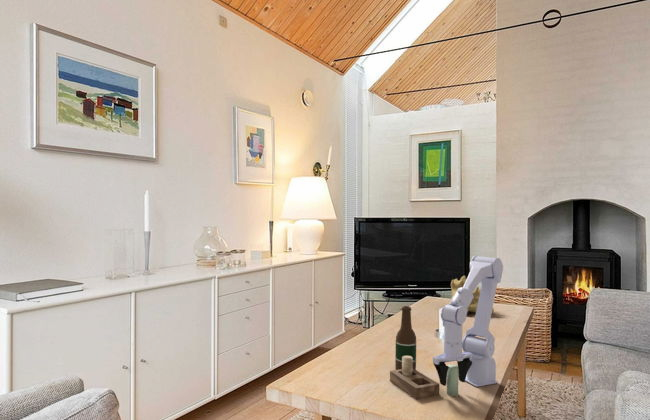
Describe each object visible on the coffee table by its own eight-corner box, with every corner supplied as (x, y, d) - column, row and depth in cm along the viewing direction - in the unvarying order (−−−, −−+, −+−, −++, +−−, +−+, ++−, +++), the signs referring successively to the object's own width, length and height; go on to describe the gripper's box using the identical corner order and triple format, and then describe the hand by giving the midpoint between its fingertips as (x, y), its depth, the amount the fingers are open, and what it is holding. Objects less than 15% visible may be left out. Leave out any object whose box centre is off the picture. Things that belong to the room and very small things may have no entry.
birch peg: (408, 380, 158) (408, 355, 158) (414, 384, 155) (414, 358, 155) (399, 382, 157) (400, 356, 156) (405, 385, 153) (405, 359, 153)
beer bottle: (413, 367, 171) (414, 304, 171) (418, 374, 163) (419, 309, 163) (393, 367, 171) (394, 304, 171) (397, 374, 163) (398, 309, 163)
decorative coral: (432, 288, 273) (466, 263, 269) (452, 313, 277) (486, 289, 274) (444, 307, 248) (481, 280, 245) (466, 334, 252) (503, 309, 249)
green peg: (453, 390, 150) (453, 364, 149) (460, 395, 146) (460, 367, 146) (444, 392, 148) (444, 365, 148) (451, 396, 145) (451, 369, 145)
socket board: (411, 377, 161) (411, 367, 161) (439, 394, 146) (439, 384, 146) (389, 380, 157) (389, 370, 157) (416, 399, 143) (416, 388, 143)
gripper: (442, 347, 140) (442, 391, 141) (479, 342, 146) (478, 384, 146) (429, 341, 147) (428, 382, 147) (464, 336, 153) (463, 376, 153)
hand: (452, 383), depth 147 cm, fingers open, 7 cm apart
